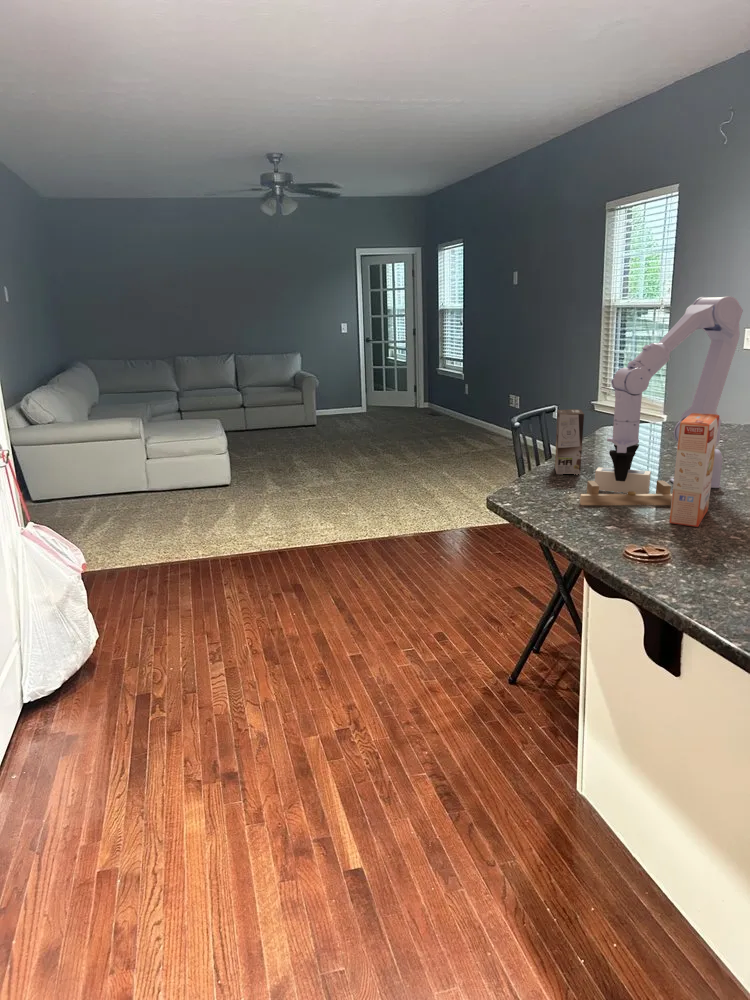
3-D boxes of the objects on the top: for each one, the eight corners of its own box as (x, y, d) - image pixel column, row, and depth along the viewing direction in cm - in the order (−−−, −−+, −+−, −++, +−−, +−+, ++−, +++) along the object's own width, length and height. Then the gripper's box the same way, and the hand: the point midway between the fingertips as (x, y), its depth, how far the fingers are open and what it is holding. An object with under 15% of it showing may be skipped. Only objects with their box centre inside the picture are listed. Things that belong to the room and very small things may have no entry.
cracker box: (700, 528, 139) (711, 423, 133) (668, 524, 142) (677, 421, 136) (710, 510, 150) (721, 413, 145) (680, 507, 153) (689, 411, 148)
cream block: (649, 491, 167) (650, 470, 166) (647, 495, 164) (649, 474, 162) (596, 487, 172) (598, 467, 171) (594, 491, 169) (595, 470, 167)
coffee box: (581, 475, 183) (584, 413, 179) (555, 474, 185) (558, 413, 180) (578, 467, 192) (582, 408, 188) (554, 467, 193) (557, 408, 189)
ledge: (673, 497, 161) (675, 480, 160) (683, 505, 155) (684, 487, 154) (575, 497, 163) (576, 480, 162) (581, 505, 156) (582, 487, 155)
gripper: (612, 415, 171) (608, 469, 175) (604, 424, 159) (600, 482, 162) (643, 416, 168) (638, 471, 172) (637, 425, 156) (633, 485, 159)
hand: (622, 477), depth 167 cm, fingers open, 7 cm apart
